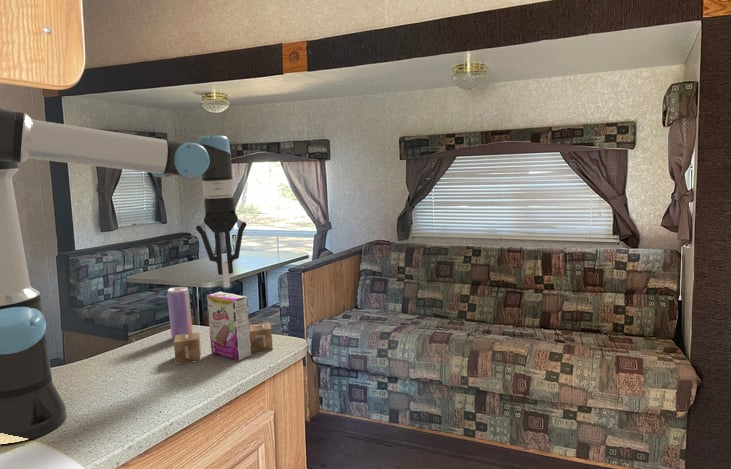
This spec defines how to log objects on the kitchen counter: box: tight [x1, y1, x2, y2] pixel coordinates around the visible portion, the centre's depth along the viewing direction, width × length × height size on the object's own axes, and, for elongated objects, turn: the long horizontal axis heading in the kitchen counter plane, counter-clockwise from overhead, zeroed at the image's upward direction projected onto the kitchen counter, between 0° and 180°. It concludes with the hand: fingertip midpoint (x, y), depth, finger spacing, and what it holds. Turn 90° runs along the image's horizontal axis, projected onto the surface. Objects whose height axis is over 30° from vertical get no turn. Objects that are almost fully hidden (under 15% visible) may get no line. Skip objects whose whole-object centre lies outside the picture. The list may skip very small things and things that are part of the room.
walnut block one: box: [173, 332, 202, 365], centre depth 144 cm, size 6×6×6 cm
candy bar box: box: [206, 291, 253, 362], centre depth 145 cm, size 11×5×16 cm, turn 54°
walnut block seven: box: [249, 322, 274, 353], centre depth 150 cm, size 6×6×6 cm
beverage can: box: [166, 286, 193, 341], centre depth 160 cm, size 6×6×15 cm
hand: (226, 286), depth 143 cm, fingers closed
